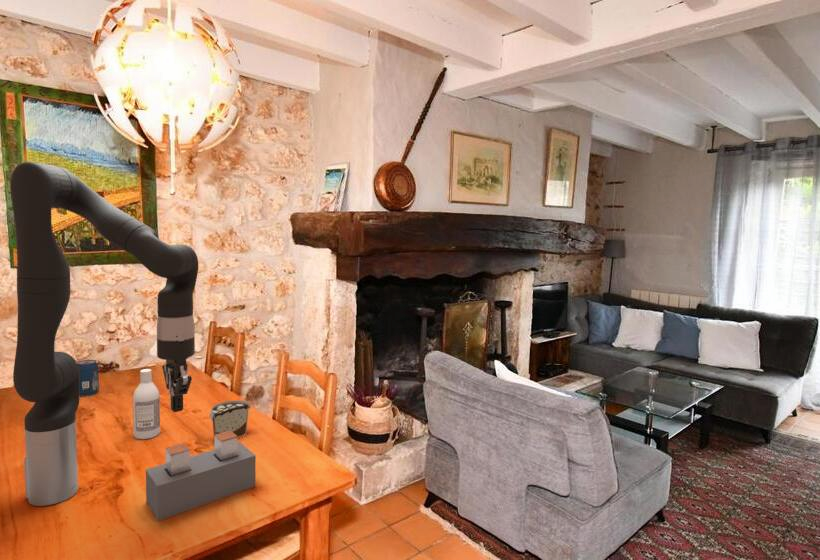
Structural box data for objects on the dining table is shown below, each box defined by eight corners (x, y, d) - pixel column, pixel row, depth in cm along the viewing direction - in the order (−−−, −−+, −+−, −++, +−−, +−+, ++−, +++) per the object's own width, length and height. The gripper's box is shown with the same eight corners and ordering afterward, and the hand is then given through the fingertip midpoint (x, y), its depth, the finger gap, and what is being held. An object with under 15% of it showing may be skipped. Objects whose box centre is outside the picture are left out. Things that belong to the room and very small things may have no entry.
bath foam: (163, 435, 141) (162, 370, 139) (138, 442, 136) (136, 375, 134) (155, 427, 146) (154, 365, 144) (130, 434, 141) (129, 369, 139)
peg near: (171, 486, 105) (170, 454, 104) (165, 479, 108) (165, 447, 107) (190, 480, 108) (189, 449, 107) (184, 473, 110) (184, 442, 110)
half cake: (239, 427, 149) (239, 396, 148) (250, 433, 145) (250, 402, 144) (201, 439, 140) (201, 407, 139) (212, 446, 136) (212, 413, 135)
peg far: (220, 470, 112) (220, 440, 111) (214, 464, 115) (214, 434, 114) (237, 465, 115) (237, 436, 114) (230, 459, 118) (230, 430, 117)
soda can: (78, 391, 173) (77, 359, 172) (100, 389, 176) (99, 358, 175) (74, 398, 167) (72, 365, 166) (97, 395, 170) (96, 363, 169)
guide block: (157, 521, 101) (157, 486, 100) (146, 502, 108) (145, 469, 107) (255, 486, 116) (255, 455, 115) (240, 471, 123) (240, 442, 122)
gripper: (148, 331, 106) (150, 405, 108) (166, 343, 97) (168, 424, 98) (183, 327, 111) (184, 398, 113) (204, 338, 102) (204, 415, 104)
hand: (177, 410), depth 106 cm, fingers closed
